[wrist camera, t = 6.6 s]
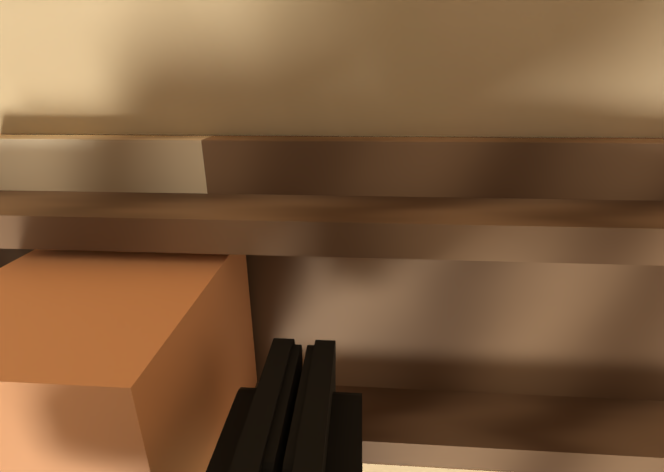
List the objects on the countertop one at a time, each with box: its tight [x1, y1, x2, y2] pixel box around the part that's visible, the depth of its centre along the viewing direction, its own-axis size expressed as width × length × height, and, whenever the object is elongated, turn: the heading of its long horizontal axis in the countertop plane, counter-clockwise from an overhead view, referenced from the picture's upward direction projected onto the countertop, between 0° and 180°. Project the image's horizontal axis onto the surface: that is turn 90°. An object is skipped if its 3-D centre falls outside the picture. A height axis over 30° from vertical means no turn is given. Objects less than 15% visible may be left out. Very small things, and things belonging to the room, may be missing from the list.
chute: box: [0, 135, 664, 472], centre depth 14 cm, size 25×12×4 cm, turn 90°
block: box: [0, 249, 257, 472], centre depth 11 cm, size 6×6×7 cm
